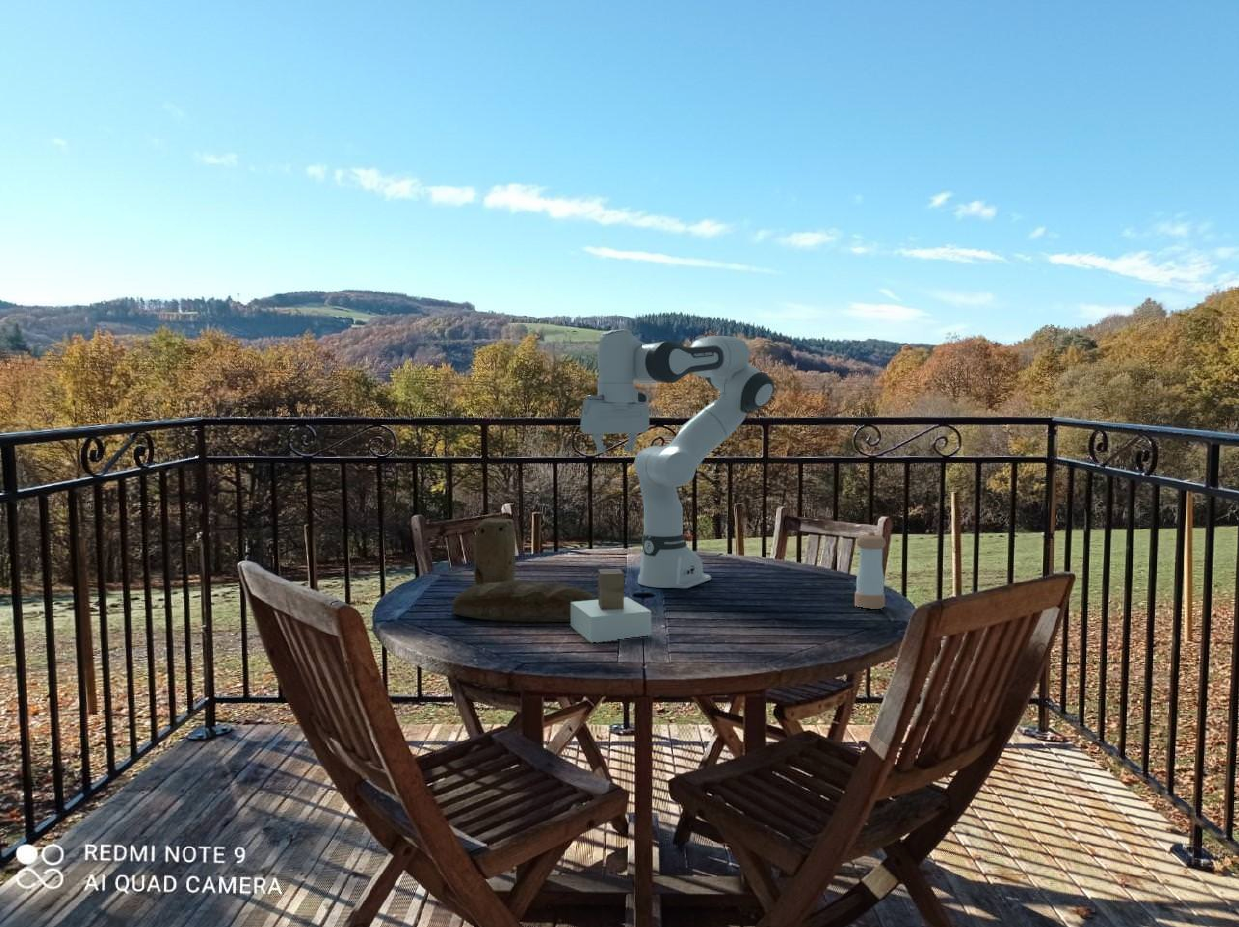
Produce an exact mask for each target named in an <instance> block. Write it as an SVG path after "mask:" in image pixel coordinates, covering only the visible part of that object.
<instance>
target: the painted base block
mask: <svg viewBox="0 0 1239 927" xmlns="http://www.w3.org/2000/svg"><path fill="white" fill-rule="evenodd" d="M570 627H571V628H573V630H574V631H576V632H577V633H579V635H581V636H582V637H583V638H584V637H585V638H584V639H586V641H587V642H589V641H590V642H591V643H590V642H589V643H590V644H593V642H596V643H603V641H604V642H611V641H612V640H613V641H618V640H617V639H622V640H625V639H624V638H631V637H639V636H646V635H651V636H652V610H650V609H649V608H647V607H645V606H644V605H642V604H640V603H638V602H637V601H634V600H633V599H631V598H630V597H628V596H626V597H625V596H624V609H614V610H601V608H600V606H599V604H598V600H589V601H577V602H571V622H570ZM631 639H632V638H631Z"/></svg>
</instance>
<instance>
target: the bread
mask: <svg viewBox="0 0 1239 927" xmlns="http://www.w3.org/2000/svg"><path fill="white" fill-rule="evenodd" d="M589 600H598V598H597V597H596V596H595V595H594V594H592V593H591V592H589V591H587V590H584V589H582V588H579V587H573V586H569V585H568V584H564V583H561V582H553V581H549V582H539V581H532V580H521V579H520V580H517V579H516V580H515V579H514V580H510V581H505V582H495V583H484V584H479V585H475V586H474V585H473V586H472V585H471V586H470V587H468V588H466V589H465V590H463V591H462V592H460V593H458V595H456V597H454V599H453V601H452V604H451V610H452V612H453V614H455V615H457V616H461V617H465V618H470V619H477V620H483V621H484V620H485V621H494V622H511V623H512V622H515V623H518V622H519V623H571V602H577V601H589Z"/></svg>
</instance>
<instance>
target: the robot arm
mask: <svg viewBox="0 0 1239 927" xmlns="http://www.w3.org/2000/svg"><path fill="white" fill-rule="evenodd" d="M750 358H751V351H750V347H749V345H748V344H747V342H746V341H745V340H743V339H741V338H739V337H734V336H729V335H715V336H714V335H713V336H712V335H710V336H706V337H701V338H698V339H696V340H693V341H692V343H690V345H689V347H688V346H684V345H683V344H680V343H679V342H676V341H674V340H666V341H662V342H655V343H645V342H643V341H642V340H639V339H638V338H637V337H636V336H635V335H633V333H632V330H631V329H628V328H621V329H620V328H619V329H611V330H607V331H604V332H603V333H602V334H601V335H600V337H599V341H598V347H597V367H598V374H599V375H598V379H597V395H592V394H591V395H590V394H589V395H587V396H586V397H585V398H584V399H583V402H582V410H581V416H580V431H581V433H582V434H584V435H592V440H593V442H594V444H595V446H596V453H597V454H605V453H606V452H607V450H606V449H607V445H604V444H603V443H604V442H603V440H602V439H603V438H604V435H607V434H608V435H609V434H610V435H612V434H614V435H615V434H627V438H628V441H627V443H626V444H624V452H628V453H630V452H634V451H635V450H634V447H635V444H636V441H637V439H638V434H643V433H644V434H645V433H647V432H648V431H649V429H650V409H649V406H648V405H647V404H648V403H649V401H650V400H649V399H650V397H649V396H650V395H648V394H647V393H646V392H645V393H644V392H642V391H640V390H639V389H637V388H635V387H634V386H635V383H636V384H643V383H644V384H655V383H662V384H663V383H664V384H673V383H674V384H675V383H677V382H678V381H680V380H682V379H683V378H684V377H685V376H687V375H688V374H690V373H693V375H695V376H696V377H701V378H705V381H706V382H707V383H708V384H709V385H710V386H711V387H713V388H715V389H716V390H718V391H719V392H720V395H719V396H718V398H717V399H715V400H714V401H712V402H710V403H709V404H708V405H706V406H705V407H703V408H702V409H701V410H700V411H698V412H697V413H696V414H694V416H692V417H691V418H690V419H689V420H688V421H686V422H685V423H683V425H681V426H680V428H679V432H678V433H677V434H676V435H675V437H674V438H673V440H671V441H670V442H669V443H668V444H666V445H664V446H660V445H659V446H658V445H651V446H648V447H645V448H643V449H641V450H640V451H638V453H637V454H636V455H635V458H634V461H633V467H634V471H635V472H636V475H637V477H638V482H639V487H640V488H639V489H640V493H641V498H642V505H643V533H642V534H641V536H642V537H641V545H642V549H643V550H642V552H641V559H640V567H639V573H638V575H637V583H638V584H639V585H640V586H641V585H642V586H645V587H650V588H660V589H663V588H665V589H668V588H669V589H671V588H673V589H677V588H678V589H688V588H691V587H693V586H697V585H700V584H702V583H705V582H707V581H711V580H712V576H711V575H710V574H708V573H704V566H703V561H702V558H701V557H700V556H699V555H697V554H696V553H694V551H692V550H691V549H690V548H689V547H688V545H687V542H693V538H694V536H693V535H692V534H689V533H686V534H684V533H683V523H684V522H683V519H684V518H683V517H684V516H683V514H684V513H683V510H684V509H683V504H682V502H681V501H680V498H679V495H678V490H677V488H678V487H682V486H686V485H688V484H689V483H690V482H692V480H693V479H694V477H695V474H696V470H697V469H698V467H699V466H700V464H702V462H703V461H704V460H705V458H706V457H708V455H710V453H712V452H713V451H714V450H715V449H716V448H717V447H718V446H719V445H721V444H722V443H723V442H724V441H725V440H727V439H728V438H729V437H730V436H731V435H732V434H733V433H734V432H735V431H736V430H737V429H738V428H739V427H740V425H741V424H742V423H743V422H744V420H745V419H746V417H747V414H751V413H753V412H755V411H757V410H760V409H761V408H763V407H764V406H766V405H767V404H768V403H769V402H770V400H771V399H772V398H773V395H774V391H775V383H774V380H772V378H771V377H770V376H769V375H768V374H767V373H765V372H763V371H761V370H760V369H758V368H757V367H756V366H754V365H753V364H751V363H749V361H750Z"/></svg>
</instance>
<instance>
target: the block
mask: <svg viewBox="0 0 1239 927" xmlns="http://www.w3.org/2000/svg"><path fill="white" fill-rule="evenodd" d="M514 523H515V522H514V520H513V519H512V518H500V517H493V518H490V517H488V518H487V517H486V518H484V519H482V520H481V521H480V522H479V523H478V524H477V527H476V530H475V534H474V541H473V542H474V543H473V544H474V545H473V562H474V565H473V568H474V569H473V570H474V571H473V586H475V585H479V584H484V583H495V582H505V581H510V580H515V576H516V535H515V524H514Z"/></svg>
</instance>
